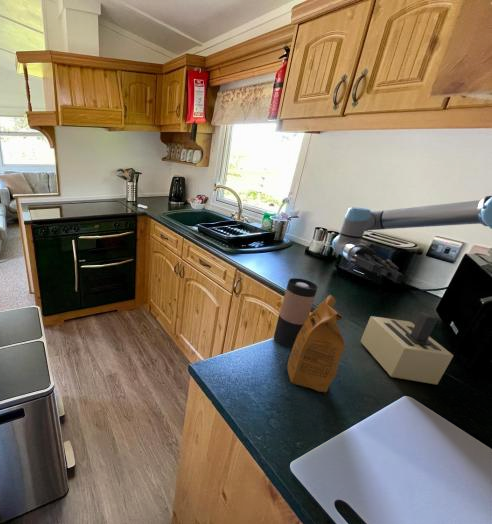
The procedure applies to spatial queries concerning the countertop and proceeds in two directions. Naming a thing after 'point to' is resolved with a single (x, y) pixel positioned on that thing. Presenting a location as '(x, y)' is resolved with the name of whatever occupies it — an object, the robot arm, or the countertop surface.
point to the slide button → (423, 329)
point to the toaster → (404, 351)
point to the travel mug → (294, 311)
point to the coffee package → (317, 349)
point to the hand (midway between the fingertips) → (399, 279)
